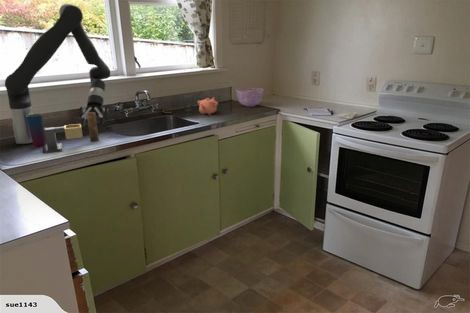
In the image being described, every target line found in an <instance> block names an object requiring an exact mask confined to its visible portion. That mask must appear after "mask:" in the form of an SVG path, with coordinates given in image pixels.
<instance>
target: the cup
mask: <svg viewBox="0 0 470 313" xmlns="http://www.w3.org/2000/svg"><path fill="white" fill-rule="evenodd" d="M26 119H27V122H28V126H29V130H30V134H31V138H32V145H33V147H34V148H41V147H42V148H43V145H46V137H45V131H44V129H45V127H44V121H43V114H42V113H33V114H30V115H26Z"/></svg>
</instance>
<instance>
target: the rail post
mask: <svg viewBox="0 0 470 313" xmlns="http://www.w3.org/2000/svg"><path fill="white" fill-rule="evenodd" d="M86 120H87V125H88V126H87V127H88V134H89V140H90V142H97V141H100V140H99V139H100V137H99V132H98V124H97V123H98V122H97V116H96V114H95V112H88V113H87V119H86Z"/></svg>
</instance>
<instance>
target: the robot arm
mask: <svg viewBox="0 0 470 313" xmlns="http://www.w3.org/2000/svg"><path fill="white" fill-rule="evenodd" d="M58 13H59V14H58V15H59V18H58V19H57V20H56V22H55V23H54V25H53V26H51V27H50V28H49V29H47V30H46V31H45V32H43V33H42V34H41V35H40V36H39V37H38V38H37V39H36V41H35V42H34V43H33V44H32V45H31V47H30V48H29V50H28V51H27V54H25V57H24V58H23V60H22V62H21V64H20V65H19V66H18V67H17V68H16V69H15V70H14V71H13V72H12V73H11V74H9V75H7V77H6V78H5V80H4V87H5V89H6V92H7V97H8V105H9V109H10V115H11V118H12V128H13V133H14V134H13V135H14V137H15V144H17V145H18V144H19V145H21V144H22V145H25V144H31V143H32V144H33V142H32V138H31V134H30V130H29V126H28V122H27V119H26V115H30V114H34V113H33V106H32V102H31V95H30V91H29V89H30V88H29V85H30V84H31V82H32V80H33V79H34V78H35V76H36V74H38V72H40V71H41V69H42V68H43V67H44V66H45V65H46V64H47V63H48V62H49V61H50V60H51V59H52V57H53V56H54V55H55V53H56V52H57V51H58V49H59V48H60V47H61V45H62V44H63V43H64V41H65V40H66V38H67V37H68V36H69V35H70V34H72V36H73V38H74V40H75V41H76V44H77V45H78V48H79V49H80V51H81V53H82V55H83V57H84V60H85V62H86V63H87V64H88V65H93V67H91V68H90V69H89V72H88V74H89V78H90V88H89V91H88V98H87V103H86V107H83V106H80V107H79V111H78V114H77V118H78V119H79V120H81V121H80V124H81V127H85V126H86V121H87V120H88V119H87V113H88V112H95V114H96V117H98V116H99V122H98V124H99V127H102V126H103V125H104V123H105V122H104V121H105V120H108V119H109V114H110V112H109V111H110V109H109V108H108V106H105V107H103V106H104V100H105V89H106V83H105V81H103V80H106V79H108V78H110V77H111V70H110V67H109V66H108V65H107V64H106V63H105V61H104V60H103V59H102V58H101V56H100V55H99V53H98V51H97V48H96V47H95V45H94V43H93V41H92V40H91V39H90V37H89V36H88V34H87V33H86V30H85V29H84V27H83V24H82V23H81V22H82V21H83V19H84V18H83V12H82V10H81V9H80V7H78V6H77V5H74V4H71V3H64V4H62V5H61V6H60V8H59V11H58ZM103 112H104V115H103V114H102V113H103Z"/></svg>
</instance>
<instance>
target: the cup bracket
mask: <svg viewBox="0 0 470 313" xmlns="http://www.w3.org/2000/svg"><path fill="white" fill-rule="evenodd" d="M56 133H58V134H59V133H64V134H65V140H72V139H74V140H75V139H81V138H83V137H84V136H83V129H82V125H81V123H76V124H74V123H73V124H67V125H63V126H56V127H54V126H51V127H44V137H45V145H43V147H42V154H49V153H50V154H51V153H59V152H63V143H62V142H61V143H60V142H59V143H58V142H57V136H56Z"/></svg>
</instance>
